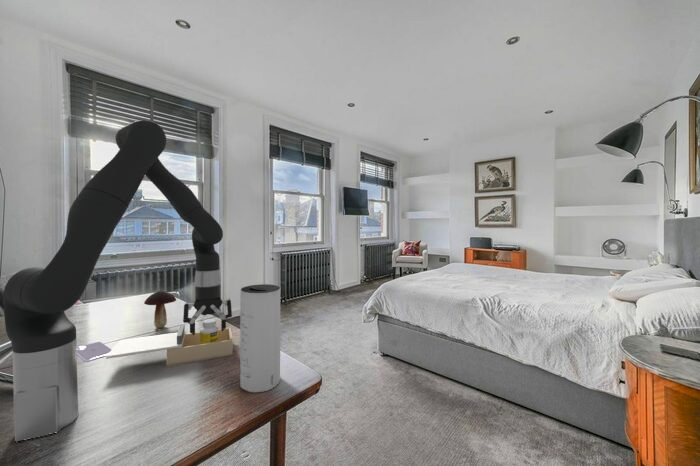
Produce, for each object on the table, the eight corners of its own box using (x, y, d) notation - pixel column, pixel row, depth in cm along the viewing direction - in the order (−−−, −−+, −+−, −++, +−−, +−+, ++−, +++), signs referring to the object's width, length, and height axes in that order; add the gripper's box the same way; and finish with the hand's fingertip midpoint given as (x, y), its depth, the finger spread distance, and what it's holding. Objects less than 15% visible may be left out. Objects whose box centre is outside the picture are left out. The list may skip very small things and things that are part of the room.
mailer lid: (181, 347, 87) (181, 336, 87) (106, 358, 79) (106, 347, 79) (185, 333, 98) (185, 323, 97) (119, 342, 90) (119, 331, 90)
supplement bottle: (211, 354, 92) (210, 324, 92) (196, 352, 93) (196, 322, 93) (222, 347, 97) (221, 318, 97) (208, 345, 99) (207, 317, 98)
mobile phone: (85, 360, 88) (71, 348, 96) (85, 363, 88) (71, 350, 96) (116, 351, 94) (100, 340, 102) (116, 354, 94) (100, 343, 102)
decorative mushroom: (143, 327, 117) (142, 290, 117) (174, 321, 124) (173, 286, 124) (145, 335, 109) (144, 295, 108) (178, 328, 116) (178, 291, 115)
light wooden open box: (232, 355, 93) (232, 340, 93) (166, 366, 85) (166, 350, 85) (230, 341, 104) (230, 327, 104) (172, 350, 96) (172, 335, 96)
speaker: (288, 383, 77) (288, 286, 76) (250, 399, 70) (250, 292, 69) (268, 368, 85) (268, 280, 84) (233, 381, 78) (232, 285, 77)
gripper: (181, 287, 88) (182, 340, 89) (232, 283, 94) (232, 332, 95) (184, 283, 95) (184, 331, 95) (230, 279, 101) (231, 325, 102)
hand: (208, 332), depth 95 cm, fingers open, 8 cm apart
